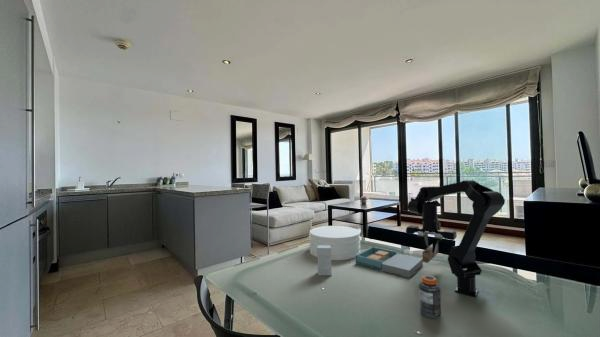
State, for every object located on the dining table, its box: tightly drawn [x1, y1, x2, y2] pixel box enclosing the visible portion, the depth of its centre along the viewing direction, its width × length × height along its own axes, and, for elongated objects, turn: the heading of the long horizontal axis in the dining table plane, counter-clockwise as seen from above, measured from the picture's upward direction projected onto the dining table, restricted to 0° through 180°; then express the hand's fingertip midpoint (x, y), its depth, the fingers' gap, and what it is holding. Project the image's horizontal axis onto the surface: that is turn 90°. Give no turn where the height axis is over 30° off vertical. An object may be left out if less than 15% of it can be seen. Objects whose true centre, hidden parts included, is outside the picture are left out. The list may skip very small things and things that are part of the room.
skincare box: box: [316, 245, 333, 276], centre depth 112 cm, size 6×4×12 cm
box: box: [355, 246, 398, 271], centre depth 125 cm, size 18×13×4 cm
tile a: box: [368, 254, 382, 261], centre depth 122 cm, size 5×5×2 cm
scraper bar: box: [422, 243, 439, 264], centre depth 109 cm, size 16×2×4 cm, turn 138°
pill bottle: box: [418, 275, 442, 319], centre depth 80 cm, size 6×6×11 cm
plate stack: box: [309, 225, 361, 261], centre depth 143 cm, size 28×28×12 cm
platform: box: [381, 253, 424, 278], centre depth 117 cm, size 18×12×3 cm, turn 138°
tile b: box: [375, 250, 389, 260], centre depth 128 cm, size 5×5×2 cm
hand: (430, 252), depth 109 cm, fingers closed on scraper bar, 2 cm apart
